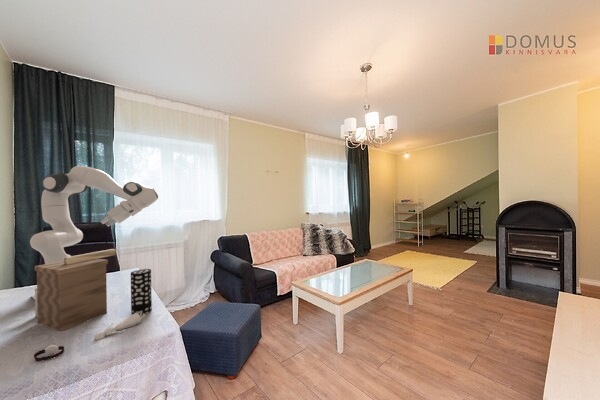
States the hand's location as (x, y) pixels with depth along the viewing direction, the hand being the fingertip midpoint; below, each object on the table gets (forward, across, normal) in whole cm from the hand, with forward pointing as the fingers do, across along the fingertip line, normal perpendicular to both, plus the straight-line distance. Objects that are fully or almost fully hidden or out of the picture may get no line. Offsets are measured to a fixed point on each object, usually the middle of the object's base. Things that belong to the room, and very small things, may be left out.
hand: (104, 224), depth 125 cm
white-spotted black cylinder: (+13, +12, +49) cm, 52 cm away
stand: (+34, +4, +30) cm, 46 cm away
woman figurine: (+20, +26, +48) cm, 58 cm away
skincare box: (+43, -7, +20) cm, 48 cm away
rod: (+13, +4, +13) cm, 19 cm away
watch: (+36, +36, +38) cm, 63 cm away
